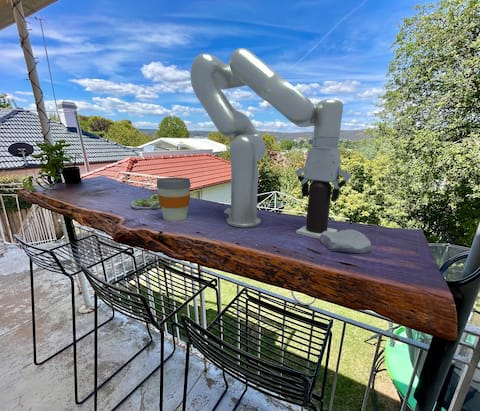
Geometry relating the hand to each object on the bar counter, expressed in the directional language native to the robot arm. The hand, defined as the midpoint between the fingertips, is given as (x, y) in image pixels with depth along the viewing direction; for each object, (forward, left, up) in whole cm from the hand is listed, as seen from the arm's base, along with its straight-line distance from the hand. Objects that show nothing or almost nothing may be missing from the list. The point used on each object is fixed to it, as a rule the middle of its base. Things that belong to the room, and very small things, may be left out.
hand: (318, 198), depth 78 cm
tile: (0, 0, -12) cm, 12 cm away
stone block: (+11, -6, -12) cm, 18 cm away
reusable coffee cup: (-49, -21, -12) cm, 54 cm away
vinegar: (0, 0, -11) cm, 11 cm away
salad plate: (-75, -16, -12) cm, 77 cm away
